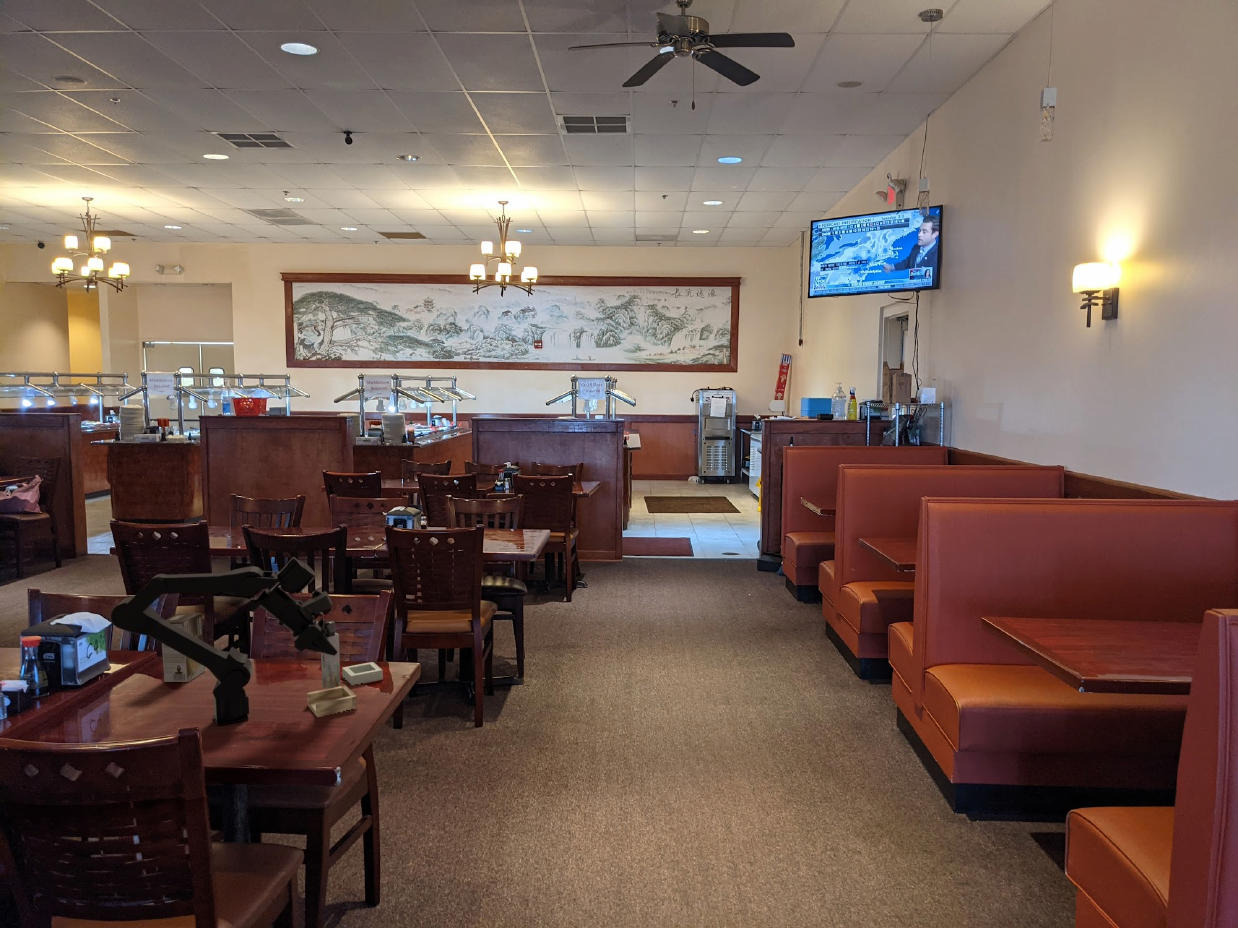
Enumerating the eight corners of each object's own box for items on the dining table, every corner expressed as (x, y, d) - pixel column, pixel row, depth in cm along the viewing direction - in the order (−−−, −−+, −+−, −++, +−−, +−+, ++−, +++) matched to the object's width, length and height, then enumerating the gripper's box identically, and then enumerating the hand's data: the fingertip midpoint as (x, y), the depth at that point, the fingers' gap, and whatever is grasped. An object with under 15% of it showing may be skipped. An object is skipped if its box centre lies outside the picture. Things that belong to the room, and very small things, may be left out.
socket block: (351, 685, 214) (351, 675, 214) (342, 676, 221) (342, 667, 220) (382, 679, 218) (382, 669, 218) (373, 670, 225) (372, 661, 225)
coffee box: (182, 671, 227) (179, 612, 225) (206, 671, 226) (202, 612, 225) (163, 683, 217) (159, 621, 216) (188, 683, 217) (184, 621, 216)
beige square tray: (317, 717, 193) (316, 704, 193) (307, 705, 201) (307, 692, 201) (356, 708, 198) (356, 696, 198) (346, 697, 206) (345, 685, 206)
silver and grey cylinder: (319, 688, 197) (318, 624, 196) (325, 682, 201) (323, 620, 200) (337, 687, 197) (335, 624, 196) (342, 682, 201) (340, 620, 200)
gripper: (308, 591, 187) (362, 636, 192) (311, 574, 205) (360, 615, 209) (271, 629, 185) (326, 673, 190) (277, 608, 203) (327, 649, 207)
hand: (336, 651), depth 199 cm, fingers closed on silver and grey cylinder, 4 cm apart
